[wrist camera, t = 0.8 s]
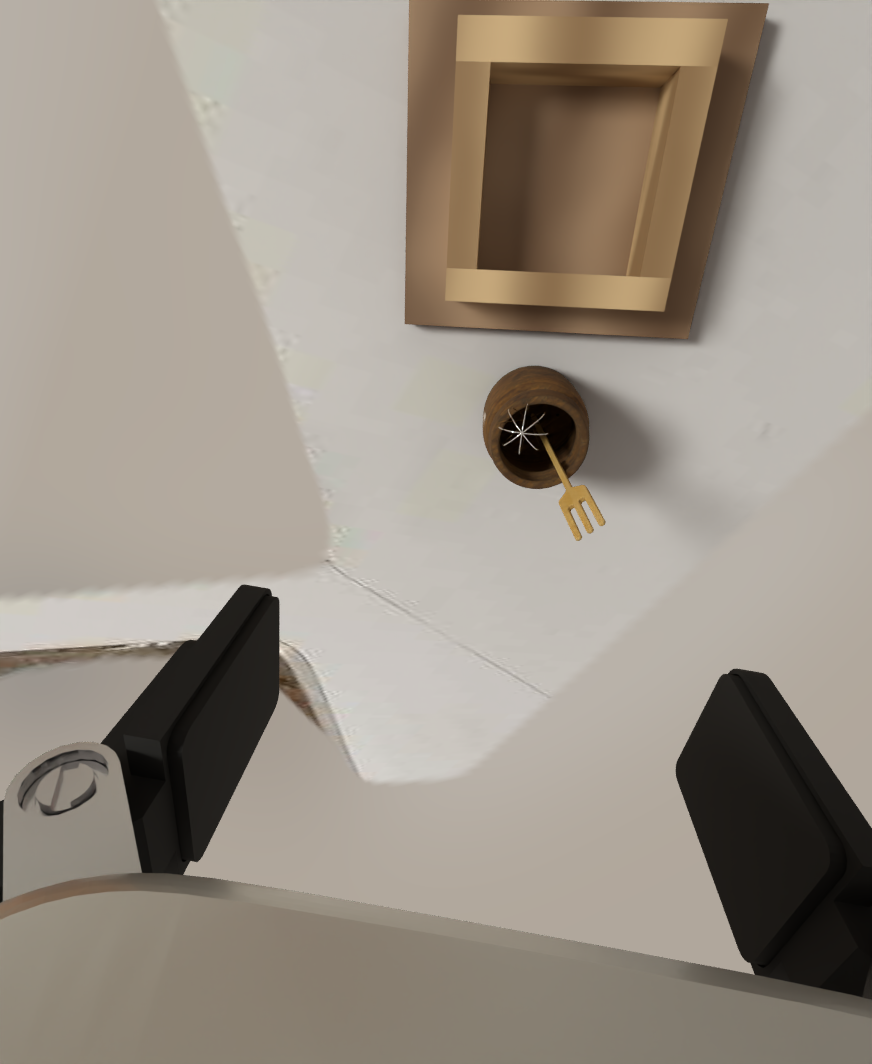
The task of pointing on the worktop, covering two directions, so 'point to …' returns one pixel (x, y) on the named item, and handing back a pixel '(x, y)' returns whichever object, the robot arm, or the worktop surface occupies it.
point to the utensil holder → (540, 436)
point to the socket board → (569, 159)
